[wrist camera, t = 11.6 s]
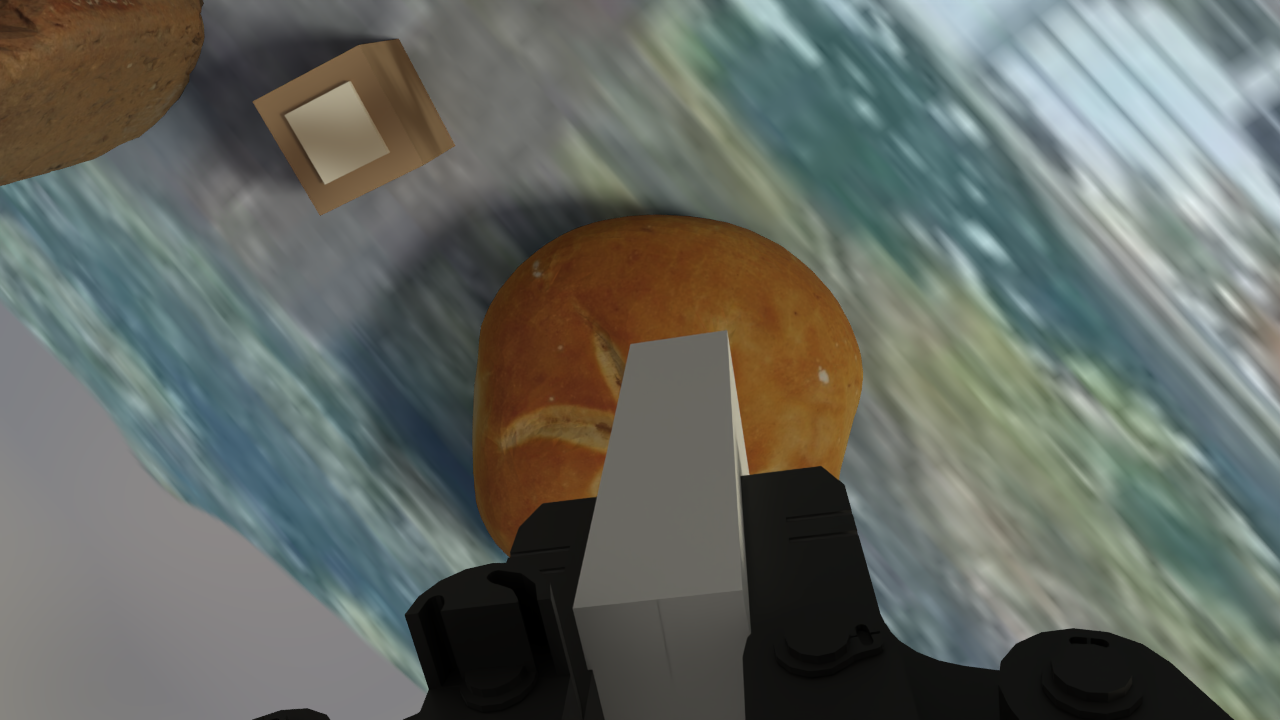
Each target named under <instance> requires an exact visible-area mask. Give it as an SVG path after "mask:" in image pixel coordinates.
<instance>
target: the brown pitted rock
mask: <svg viewBox="0 0 1280 720" xmlns="http://www.w3.org/2000/svg"><path fill="white" fill-rule="evenodd" d="M203 4H204V3H203V0H0V186H2V185H6V184H10V183H13V182H16V181H20V180H23V179H27V178H31V177H34V176H38V175H42V174H46V173H49V172H51V171H55V170H59V169H63V168H66V167H69V166H73V165H76V164H79V163H82V162H86V161H89V160H92V159H95V158H97V157H99V156H101V155H103V154H105V153H107V152H108V151H110V150H112V149H113V148H115V147H117V146H118V145H120V144H123V143H125V142H127V141H130V140H133V139H135V138H138V137H140V136H141V135H142V134H144V133H145V132H146V131H147V130H148V129H150V128H151V127H152V126H153V125H155V124H156V123H157V122H158V121H159V120H160V119H161V118H162V117H163V116H164V115H165V114H166V112H167V111H168V110H169V108H170V107H171V106H172V105H173V104H174V103H175V102H176V101H177V100H178V99H179V97H180V96H181V94H182V92H183V91H184V89H185V87H186V85H187V84H188V82H189V74H190V73H191V71H192V70H193V69H194V68H195V65H196V63H197V61H198V58H199V56H200V53H201V48H202V45H203V42H204V25H203V21H202V17H201V15H200V13H201V9H202V6H203Z"/></svg>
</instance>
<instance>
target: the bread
mask: <svg viewBox="0 0 1280 720" xmlns="http://www.w3.org/2000/svg"><path fill="white" fill-rule="evenodd" d="M724 330H727V333H728V339H729V346H730V352H731V359H732V365H733V372H734V378H735V385H736V391H737V398H738V404H739V411H740V417H741V423H742V430H743V436H744V443H745V449H746V456H747V462H748V469H749V475H752V474H760V473H768V472H776V471H784V470H792V469H800V468H808V467H816V466H822V467H823V468H825V469H826V470H827V471H828V472H829V473H831V474H832V475H833V476H834V477H836V478H837V479H838V480H839V475H840V469H841V466H842V462H843V458H844V454H845V450H846V446H847V442H848V438H849V435H850V431H851V427H852V423H853V419H854V416H855V413H856V410H857V407H858V404H859V400H860V395H861V390H862V381H863V369H862V360H861V354H860V350H859V347H858V344H857V341H856V338H855V336H854V333H853V330H852V328H851V325H850V323H849V321H848V319H847V317H846V316H845V314H844V312H843V310H842V308H841V307H840V305H839V303H838V301H837V300H836V298H835V297H834V296H833V294H832V293H831V291H830V290H829V289H828V288H827V287H826V286H825V285H824V284H823V282H822V281H821V280H820V279H819V278H818V277H817V276H816V275H815V273H814V272H813V271H812V270H810V269H809V268H808V267H807V266H806V265H805V264H804V263H802V262H801V261H800V260H799V259H798V258H796V257H795V256H794V255H793V254H791V253H790V252H789V251H787V250H786V249H785V248H784V247H782V246H780V245H779V244H777V243H775V242H773V241H771V240H769V239H767V238H765V237H763V236H761V235H759V234H757V233H755V232H753V231H751V230H748V229H745V228H742V227H739V226H736V225H733V224H730V223H726V222H721V221H716V220H711V219H705V218H698V217H691V216H677V215H639V216H626V217H620V218H614V219H608V220H603V221H598V222H594V223H591V224H588V225H585V226H582V227H579V228H576V229H574V230H572V231H569V232H567V233H565V234H563V235H561V236H559V237H558V238H556V239H554V240H553V241H551V242H549V243H547V244H546V245H545V246H543V247H542V248H541V249H539V250H538V251H537V252H535V253H534V254H533V255H531V256H530V257H529V258H528V259H527V260H526V261H525V262H523V263H522V264H521V265H520V266H519V267H518V268H517V269H516V270H515V272H514V273H513V274H512V275H511V276H510V277H509V279H508V280H507V281H506V282H505V283H504V285H503V286H502V287H501V288H500V289H499V291H498V293H497V294H496V296H495V298H494V300H493V301H492V303H491V305H490V306H489V309H488V311H487V313H486V315H485V318H484V320H483V323H482V325H481V331H480V338H479V350H478V362H477V371H476V378H475V384H474V406H473V436H472V445H473V474H474V488H475V494H476V503H477V507H478V510H479V513H480V515H481V518H482V521H483V523H484V524H485V526H486V528H487V530H488V532H489V534H490V535H491V537H492V538H493V540H494V542H495V543H496V544H497V545H498V546H499V547H500V548H501V549H502V550H503V552H504V553H505V554H507V555H508V556H509V557H510V551H511V548H512V545H513V542H514V540H515V537H516V534H517V531H518V528H519V527H520V526H521V525H522V524H523V523H524V522H525V521H526V519H527V518H528V517H529V516H530V515H531V514H532V513H533V512H534V511H535V510H536V509H537V508H538V507H539V506H540V505H541V504H542V503H549V502H558V501H566V500H574V499H582V498H590V497H597V495H598V490H599V486H600V481H601V477H602V472H603V467H604V463H605V458H606V454H607V449H608V445H609V440H610V435H611V431H612V426H613V422H614V417H615V413H616V408H617V403H618V399H619V394H620V390H621V385H622V381H623V376H624V371H625V367H626V362H627V358H628V353H629V349H630V344H635V343H642V342H648V341H655V340H662V339H669V338H676V337H683V336H690V335H697V334H704V333H711V332H718V331H724Z"/></svg>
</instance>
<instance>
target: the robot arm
mask: <svg viewBox="0 0 1280 720" xmlns="http://www.w3.org/2000/svg"><path fill="white" fill-rule="evenodd" d="M405 618H406V621H407V624H408V627H409V630H410V633H411V636H412V639H413V642H414V645H415V648H416V651H417V654H418V658H419V661H420V664H421V667H422V670H423V673H424V676H425V679H426V682H427V685H428V688H429V691H428V693H427V696H426V698H425V701H424V703H423V706H422V708H421V711H420V712H419V713H418V714H415V715H413V716H411V717H408V718H406V719H403V720H1234V719H1233V718H1231V717H1230V716H1229V715H1228V714H1227V713H1226V712H1225V711H1224V710H1223V709H1221V708H1220V707H1219V706H1218V705H1217V704H1216V703H1215V702H1214V701H1213V700H1211V699H1210V698H1209V697H1208V696H1207V695H1206V694H1205V693H1204V692H1203V691H1201V690H1200V689H1199V688H1198V687H1197V686H1196V685H1195V684H1194V683H1193V682H1192V681H1190V680H1189V679H1188V678H1187V677H1186V676H1185V675H1184V674H1183V673H1182V672H1180V671H1179V670H1178V669H1177V668H1176V667H1175V666H1174V665H1173V664H1172V663H1170V662H1169V661H1167V660H1166V659H1164V658H1163V657H1161V656H1160V655H1158V654H1157V653H1155V652H1154V651H1152V650H1151V649H1149V648H1148V647H1146V646H1145V645H1143V644H1141V643H1138V642H1135V641H1132V640H1129V639H1126V638H1123V637H1121V636H1118V635H1115V634H1112V633H1109V632H1101V631H1092V630H1084V629H1075V628H1072V629H1064V630H1056V631H1048V632H1041V633H1039V634H1037V635H1034V636H1032V637H1030V638H1028V639H1026V640H1023V641H1021V642H1019V643H1017V644H1015V646H1014V647H1013V648H1012V649H1011V650H1010V651H1009V653H1008V654H1007V655H1006V656H1005V657H1004V658H1003V660H1002V661H1001V664H1000V671H999V670H991V669H984V668H976V667H969V666H962V665H957V664H953V663H948V662H943V661H939V660H936V659H933V658H931V657H928V656H926V655H923V654H921V653H918V652H916V651H915V650H913V649H911V648H910V647H908V646H907V645H905V644H904V643H902V642H901V641H899V640H898V639H897V638H896V637H895V636H894V635H893V634H892V632H891V631H890V630H889V628H888V626H887V625H886V624H885V622H884V620H883V618H882V616H881V614H880V611H879V607H878V604H877V600H876V596H875V593H874V589H873V586H872V582H871V578H870V575H869V571H868V568H867V564H866V560H865V557H864V553H863V550H862V546H861V542H860V539H859V535H858V533H857V528H856V525H855V521H854V517H853V514H852V511H851V507H850V503H849V499H848V496H847V492H846V489H845V485H844V484H843V483H842V482H840V481H839V480H838V479H837V478H836V477H834V476H833V475H832V474H831V473H829V472H828V471H827V470H826V469H825V468H823V467H822V466H816V467H808V468H800V469H792V470H784V471H776V472H768V473H760V474H752V475H749V469H748V462H747V456H746V449H745V443H744V436H743V430H742V423H741V417H740V411H739V404H738V398H737V391H736V385H735V378H734V372H733V365H732V359H731V352H730V346H729V339H728V333H727V330H724V331H718V332H711V333H704V334H697V335H690V336H683V337H676V338H669V339H662V340H655V341H648V342H642V343H635V344H630V349H629V353H628V358H627V362H626V367H625V371H624V376H623V381H622V385H621V390H620V394H619V399H618V403H617V408H616V413H615V417H614V422H613V426H612V431H611V435H610V440H609V445H608V449H607V454H606V458H605V463H604V467H603V472H602V477H601V481H600V486H599V490H598V495H597V497H590V498H582V499H574V500H566V501H558V502H549V503H542V504H541V505H540V506H539V507H538V508H537V509H536V510H535V511H534V512H533V513H532V514H531V515H530V516H529V517H528V518H527V519H526V521H525V522H524V523H523V524H522V525H521V526H520V527H519V528H518V531H517V534H516V537H515V540H514V542H513V545H512V548H511V551H510V558H508V559H507V562H506V563H491V564H487V565H483V566H478V567H474V568H469V569H465V570H463V571H461V572H459V573H456V574H454V575H452V576H450V577H447V578H445V579H443V580H441V581H439V582H438V583H436V584H435V585H434V586H432V587H431V588H430V589H428V590H427V591H426V592H424V593H423V594H421V595H420V596H419V597H418V598H417V599H416V601H415V602H414V603H413V605H412V606H411V607H410V608H409V610H408V611H407V612H406V614H405ZM253 720H330V719H329V717H328V716H327V715H326V714H323V713H320V712H317V711H314V710H311V709H308V708H306V709H291V710H280V711H277V712H274V713H271V714H268V715H265V716H262V717H259V718H256V719H253Z"/></svg>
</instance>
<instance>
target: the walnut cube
mask: <svg viewBox="0 0 1280 720" xmlns="http://www.w3.org/2000/svg"><path fill="white" fill-rule="evenodd" d="M253 103H254V105H255V107H256V108H257V110H258V112H259V113H260V115H261V117H262V118H263V120H264V122H265V124H266V125H267V127H268V129H269V130H270V132H271V134H272V135H273V137H274V139H275V140H276V142H277V144H278V145H279V147H280V149H281V151H282V152H283V154H284V156H285V157H286V159H287V161H288V162H289V164H290V166H291V167H292V169H293V171H294V173H295V174H296V176H297V178H298V179H299V181H300V183H301V184H302V186H303V188H304V189H305V191H306V193H307V194H308V196H309V198H310V200H311V201H312V203H313V205H314V206H315V208H316V210H317V211H318V213H319V215H320V216H321V215H323V214H325V213H327V212H329V211H331V210H333V209H335V208H337V207H339V206H341V205H343V204H345V203H347V202H349V201H351V200H353V199H355V198H357V197H359V196H361V195H363V194H365V193H367V192H370V191H372V190H374V189H376V188H378V187H380V186H382V185H384V184H386V183H388V182H390V181H392V180H394V179H396V178H398V177H400V176H402V175H404V174H406V173H408V172H410V171H412V170H414V169H416V168H418V167H420V166H423V165H424V164H426V163H428V162H429V161H431V160H433V159H434V158H436V157H438V156H439V155H441V154H442V153H444V152H446V151H447V150H449V149H451V148H452V147H454V146H455V144H454V143H453V141H452V139H451V137H450V135H449V133H448V131H447V129H446V127H445V126H444V124H443V122H442V120H441V118H440V116H439V114H438V112H437V110H436V108H435V107H434V105H433V103H432V101H431V99H430V97H429V95H428V93H427V91H426V89H425V88H424V86H423V84H422V82H421V80H420V78H419V76H418V74H417V72H416V71H415V69H414V67H413V65H412V63H411V61H410V59H409V57H408V55H407V53H406V52H405V50H404V48H403V46H402V44H401V42H400V40H399V39H395V40H388V41H382V42H375V43H368V44H362V45H358V46H356V47H354V48H352V49H350V50H348V51H347V52H345V53H343V54H341V55H339V56H337V57H335V58H333V59H332V60H330V61H328V62H326V63H324V64H322V65H320V66H318V67H317V68H315V69H313V70H311V71H309V72H307V73H305V74H303V75H301V76H300V77H298V78H296V79H294V80H292V81H290V82H288V83H286V84H285V85H283V86H281V87H279V88H277V89H275V90H273V91H271V92H270V93H268V94H266V95H264V96H262V97H260V98H258V99H256V100H255V101H253Z"/></svg>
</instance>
